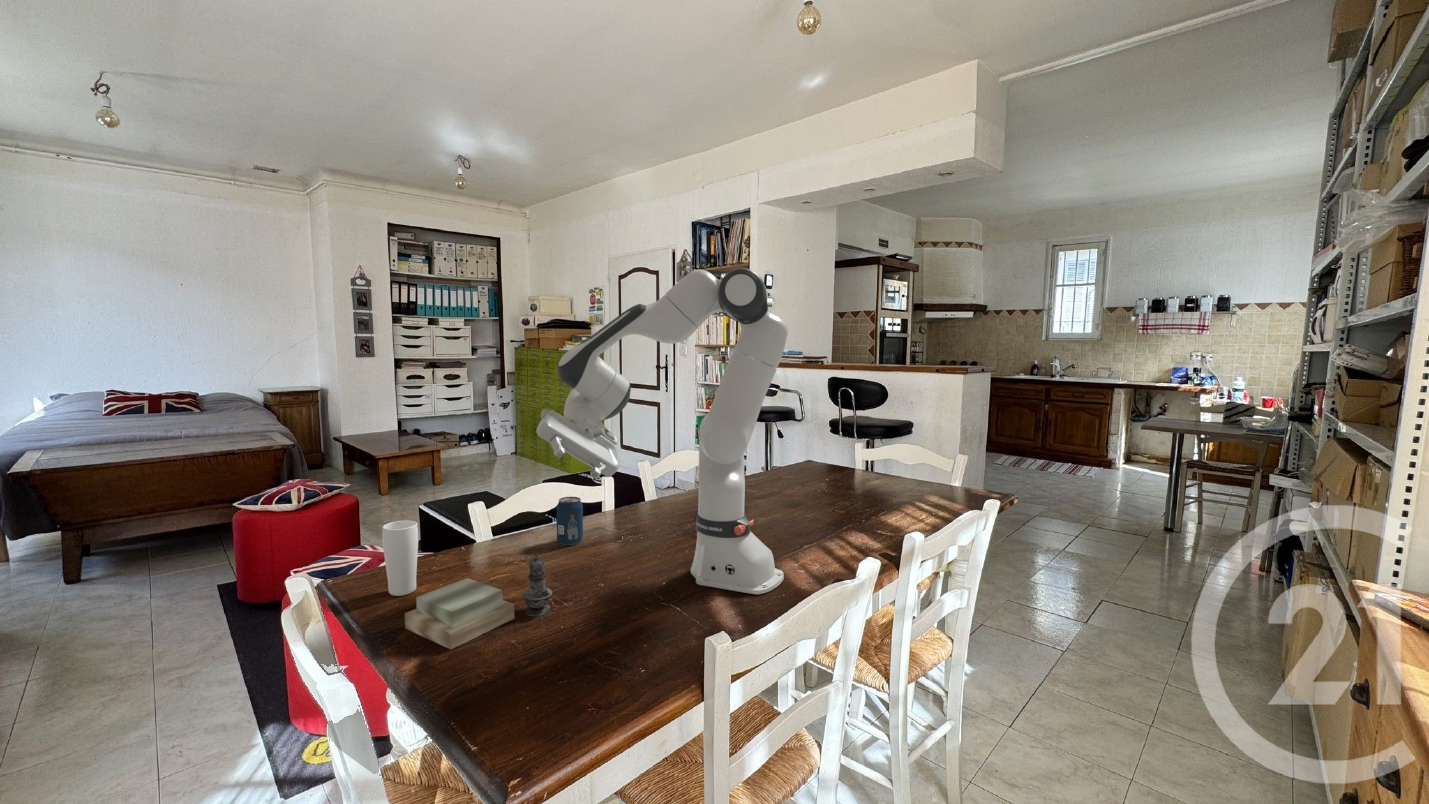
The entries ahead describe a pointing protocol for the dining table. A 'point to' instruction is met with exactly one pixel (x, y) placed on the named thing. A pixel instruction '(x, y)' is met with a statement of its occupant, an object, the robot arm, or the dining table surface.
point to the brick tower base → (460, 630)
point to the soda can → (569, 521)
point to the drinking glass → (401, 556)
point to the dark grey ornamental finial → (537, 590)
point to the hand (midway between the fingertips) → (577, 465)
